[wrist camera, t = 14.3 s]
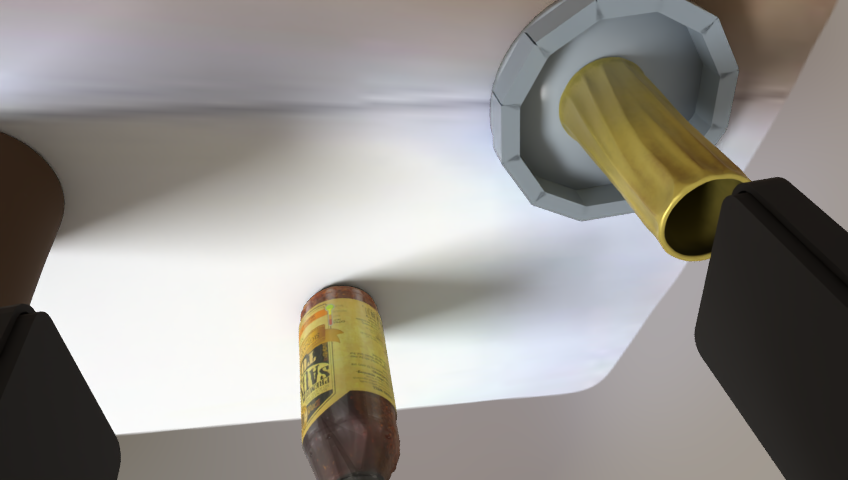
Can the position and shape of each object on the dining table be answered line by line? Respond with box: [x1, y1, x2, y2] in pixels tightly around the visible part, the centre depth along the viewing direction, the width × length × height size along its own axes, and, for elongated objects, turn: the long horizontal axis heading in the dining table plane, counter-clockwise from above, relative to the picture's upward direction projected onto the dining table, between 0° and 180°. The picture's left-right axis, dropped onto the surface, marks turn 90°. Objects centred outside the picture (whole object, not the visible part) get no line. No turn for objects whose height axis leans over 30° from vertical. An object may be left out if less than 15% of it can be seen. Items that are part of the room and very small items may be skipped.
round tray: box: [490, 0, 739, 221], centre depth 45 cm, size 15×15×3 cm
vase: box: [559, 57, 751, 261], centre depth 40 cm, size 6×6×14 cm
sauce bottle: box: [299, 286, 400, 480], centre depth 45 cm, size 7×6×20 cm
